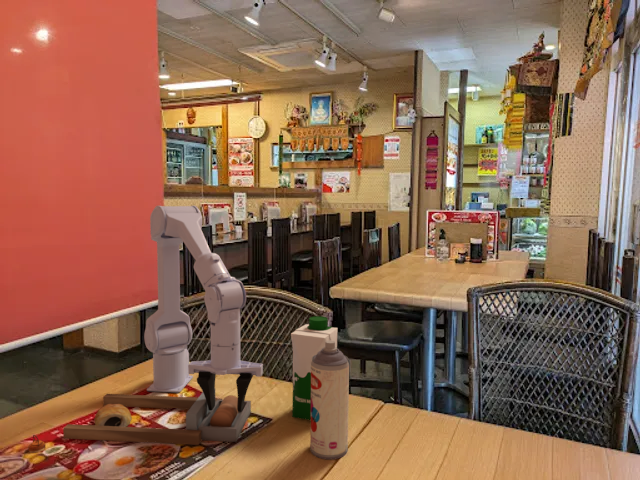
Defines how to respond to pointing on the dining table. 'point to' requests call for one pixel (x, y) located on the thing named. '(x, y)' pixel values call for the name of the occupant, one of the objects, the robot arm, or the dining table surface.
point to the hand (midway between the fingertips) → (226, 408)
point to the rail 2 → (132, 434)
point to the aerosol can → (329, 403)
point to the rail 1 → (150, 401)
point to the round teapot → (36, 446)
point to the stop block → (197, 413)
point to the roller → (225, 412)
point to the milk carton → (307, 361)
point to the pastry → (113, 416)
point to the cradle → (224, 432)
